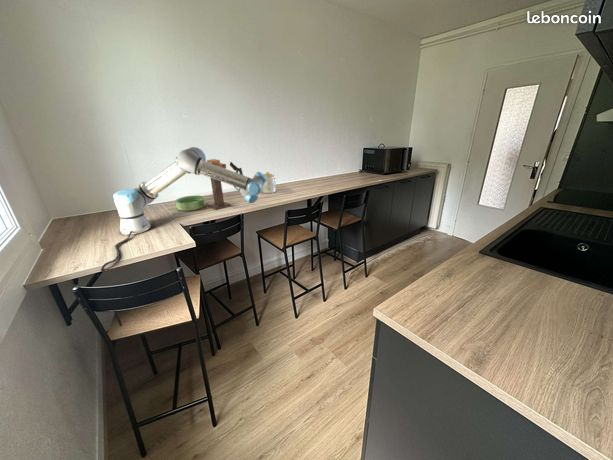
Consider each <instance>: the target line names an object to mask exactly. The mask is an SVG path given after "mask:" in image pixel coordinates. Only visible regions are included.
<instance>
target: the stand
mask: <svg viewBox="0 0 613 460" xmlns="http://www.w3.org/2000/svg"><path fill="white" fill-rule="evenodd" d="M225 169H227V167H226V168H225ZM210 184H211V189H212V196H213V201H214V202H212V203H209V204H207V207H209V208H211V209H213V210H216V211H218V210H221V209H225V208H229V207H232V204H231V203H229V202H226V201H225V199H224V193H223V185H222V182H221V181H219V180H216V179H213V178H210Z"/></svg>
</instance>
